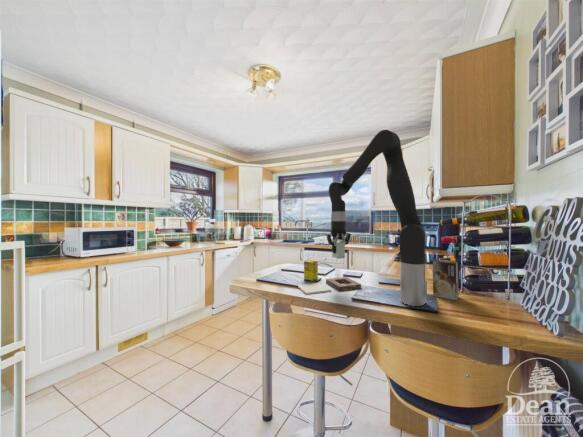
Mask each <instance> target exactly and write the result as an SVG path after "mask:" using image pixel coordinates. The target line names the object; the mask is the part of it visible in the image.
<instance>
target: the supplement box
mask: <svg viewBox="0 0 583 437" xmlns="http://www.w3.org/2000/svg"><path fill="white" fill-rule="evenodd" d="M318 262H319V261H318V260H315V259H314V260H313V259H308V260H305V261H303V280H304V281H306V280H308V281H307V282H311V281H313V282H315V281H318V280H319V277H318V276H319V275H318V274H319V273H318V271H319V266H318V265H319V264H318ZM317 279H318V280H317ZM314 280H315V281H314Z"/></svg>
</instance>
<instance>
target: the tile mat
mask: <svg viewBox="0 0 583 437" xmlns="http://www.w3.org/2000/svg"><path fill="white" fill-rule="evenodd" d="M297 286H298V287H297ZM296 287H297V288H298V289H299V290H301V291H302V292H303V293H304V294H305V295H313V294H320V293H321V294H323V293H330V292H332V290H331V288H330V287H328V286H326V285H324V284H323V283H322V282H320V281H319V282H311V283H304V284H303V283H301V284H297V285H296Z"/></svg>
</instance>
